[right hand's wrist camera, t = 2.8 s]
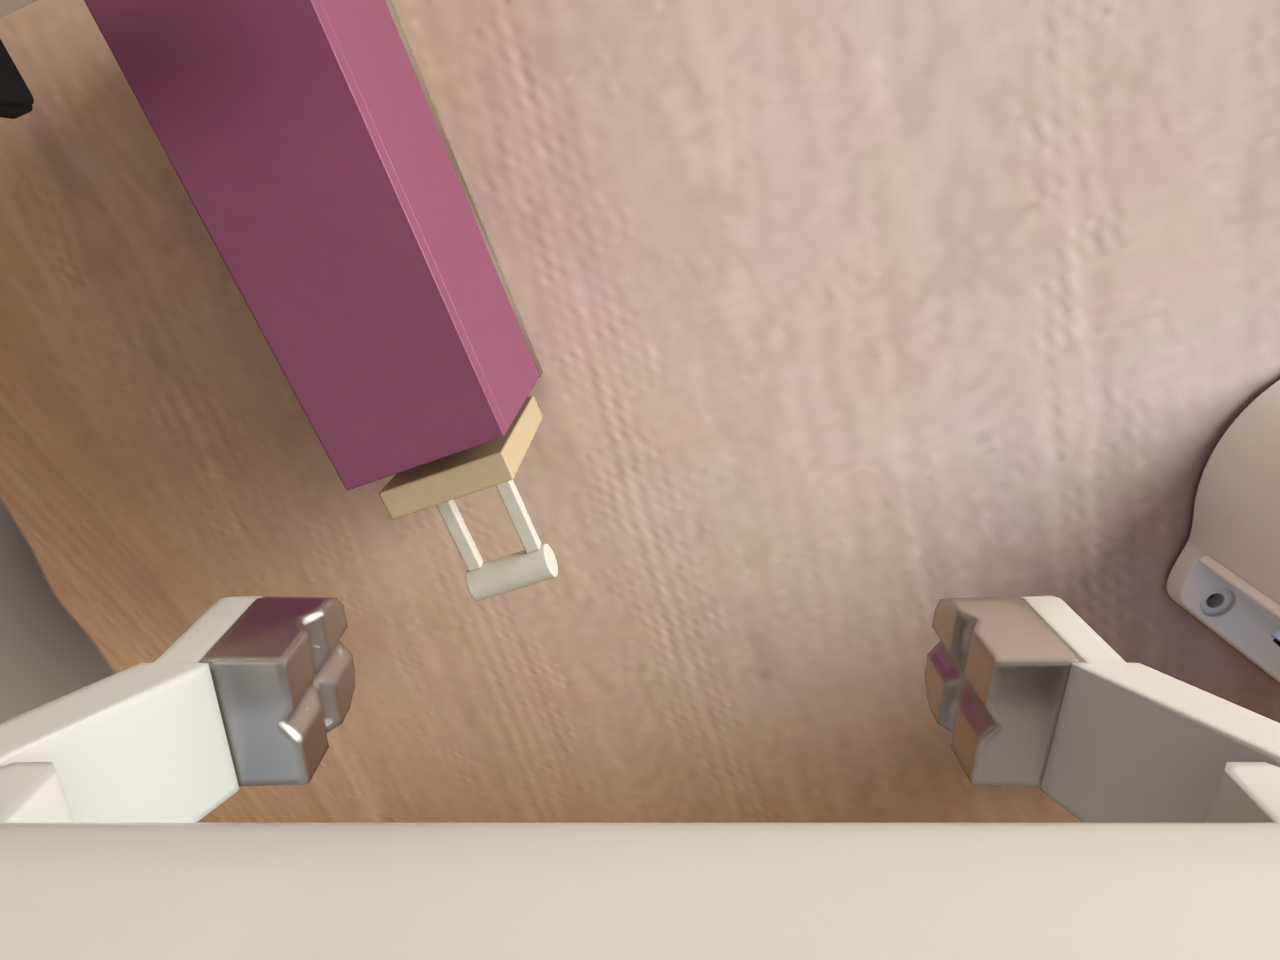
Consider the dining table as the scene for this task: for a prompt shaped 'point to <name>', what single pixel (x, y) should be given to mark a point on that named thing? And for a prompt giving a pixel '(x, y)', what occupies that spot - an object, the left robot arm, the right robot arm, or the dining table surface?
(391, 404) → the cabinet
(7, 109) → the left robot arm
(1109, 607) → the dining table surface
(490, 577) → the drawer
